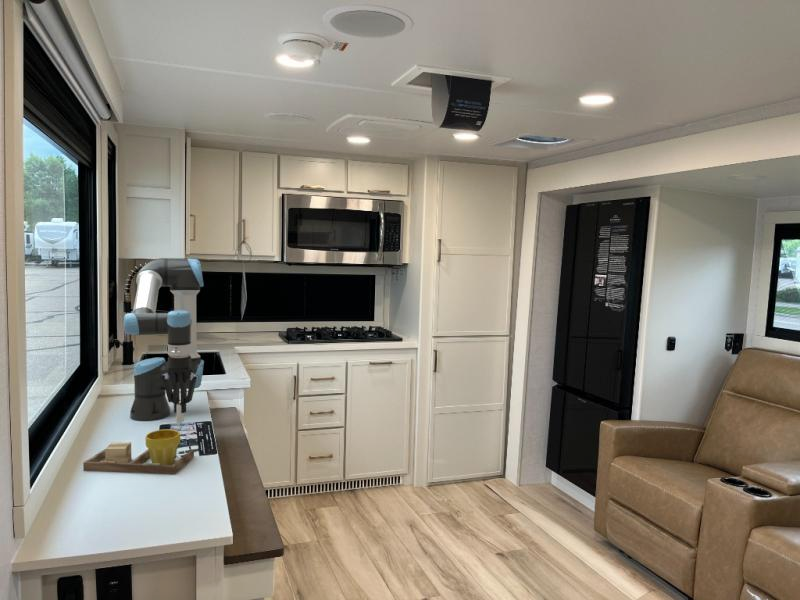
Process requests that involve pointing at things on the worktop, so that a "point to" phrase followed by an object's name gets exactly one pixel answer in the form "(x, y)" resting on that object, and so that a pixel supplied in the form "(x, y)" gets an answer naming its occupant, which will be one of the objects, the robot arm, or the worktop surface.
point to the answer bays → (135, 464)
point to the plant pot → (163, 445)
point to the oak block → (118, 452)
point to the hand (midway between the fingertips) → (180, 421)
